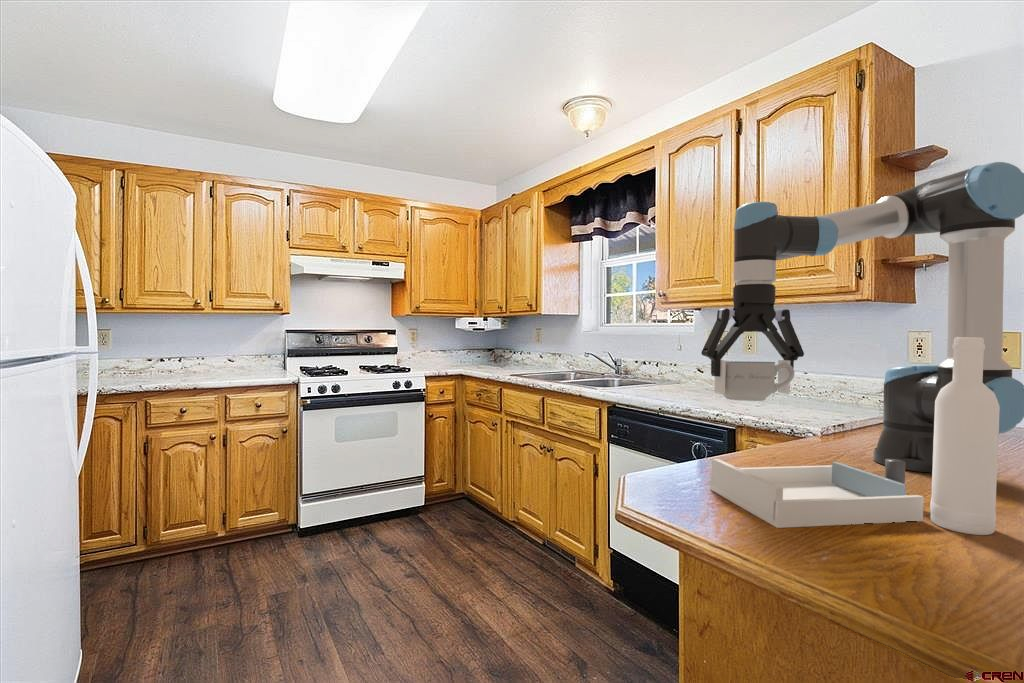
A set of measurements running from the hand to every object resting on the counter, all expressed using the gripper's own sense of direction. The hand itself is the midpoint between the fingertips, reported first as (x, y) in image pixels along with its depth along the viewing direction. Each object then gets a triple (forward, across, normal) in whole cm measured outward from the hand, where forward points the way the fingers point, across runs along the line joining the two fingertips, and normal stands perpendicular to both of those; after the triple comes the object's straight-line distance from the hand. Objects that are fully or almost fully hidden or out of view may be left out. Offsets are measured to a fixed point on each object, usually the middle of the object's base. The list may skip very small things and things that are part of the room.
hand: (751, 393), depth 104 cm
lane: (+18, -8, +11) cm, 23 cm away
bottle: (+19, -22, +23) cm, 37 cm away
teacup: (+2, 0, 0) cm, 2 cm away
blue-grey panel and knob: (+17, -19, +10) cm, 28 cm away
